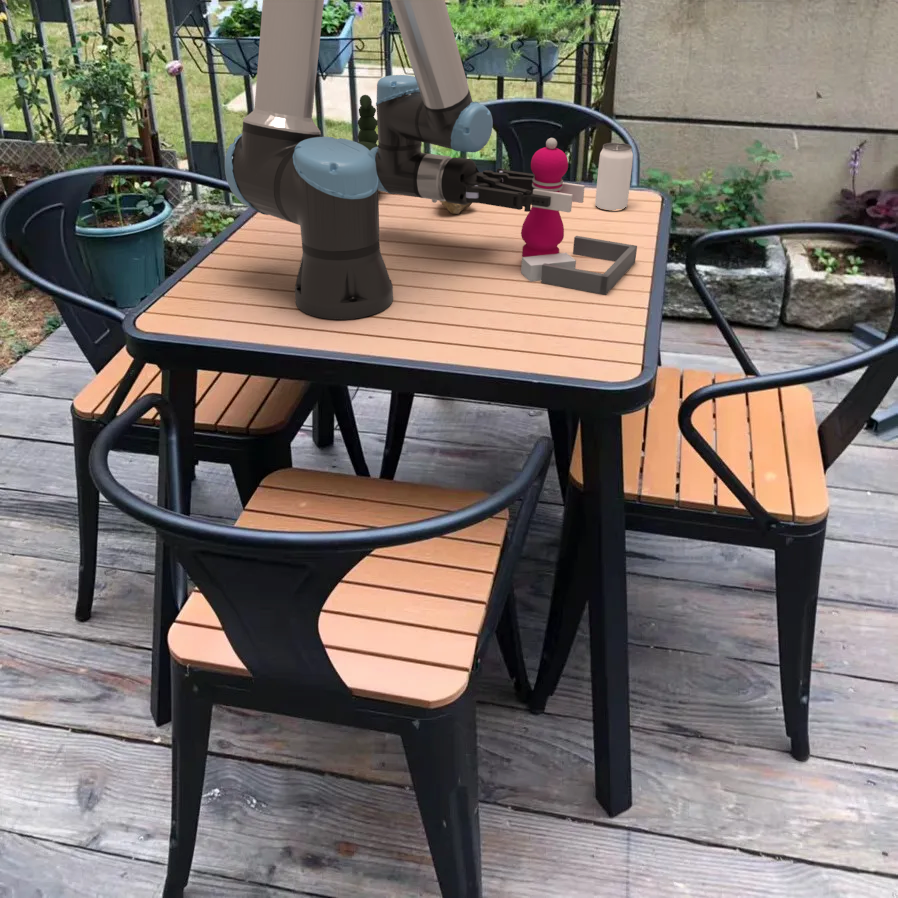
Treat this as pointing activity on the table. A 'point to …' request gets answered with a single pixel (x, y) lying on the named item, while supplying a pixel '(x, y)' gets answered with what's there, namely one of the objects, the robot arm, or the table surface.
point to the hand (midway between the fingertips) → (576, 198)
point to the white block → (534, 263)
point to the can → (614, 176)
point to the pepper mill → (540, 223)
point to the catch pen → (586, 279)
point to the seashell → (455, 207)
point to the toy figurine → (367, 123)
